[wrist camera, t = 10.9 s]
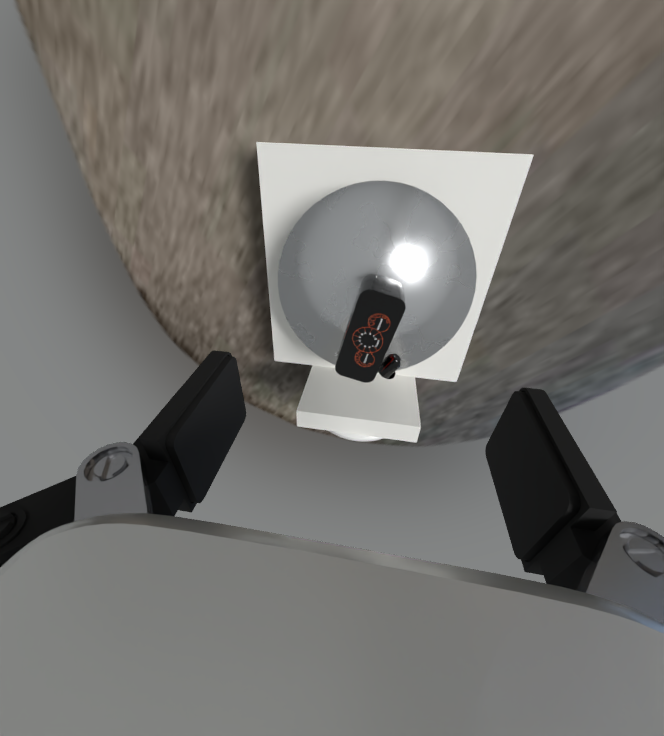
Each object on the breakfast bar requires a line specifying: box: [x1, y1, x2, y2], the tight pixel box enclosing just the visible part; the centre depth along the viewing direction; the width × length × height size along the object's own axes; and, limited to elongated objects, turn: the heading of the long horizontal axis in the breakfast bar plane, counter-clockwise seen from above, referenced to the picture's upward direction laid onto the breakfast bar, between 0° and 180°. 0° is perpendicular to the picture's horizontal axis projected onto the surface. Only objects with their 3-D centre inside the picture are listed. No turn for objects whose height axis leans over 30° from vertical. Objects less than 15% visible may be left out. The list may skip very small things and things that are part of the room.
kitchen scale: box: [256, 142, 533, 442], centre depth 22 cm, size 18×16×9 cm
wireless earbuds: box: [335, 274, 406, 383], centre depth 21 cm, size 5×7×3 cm, turn 165°
